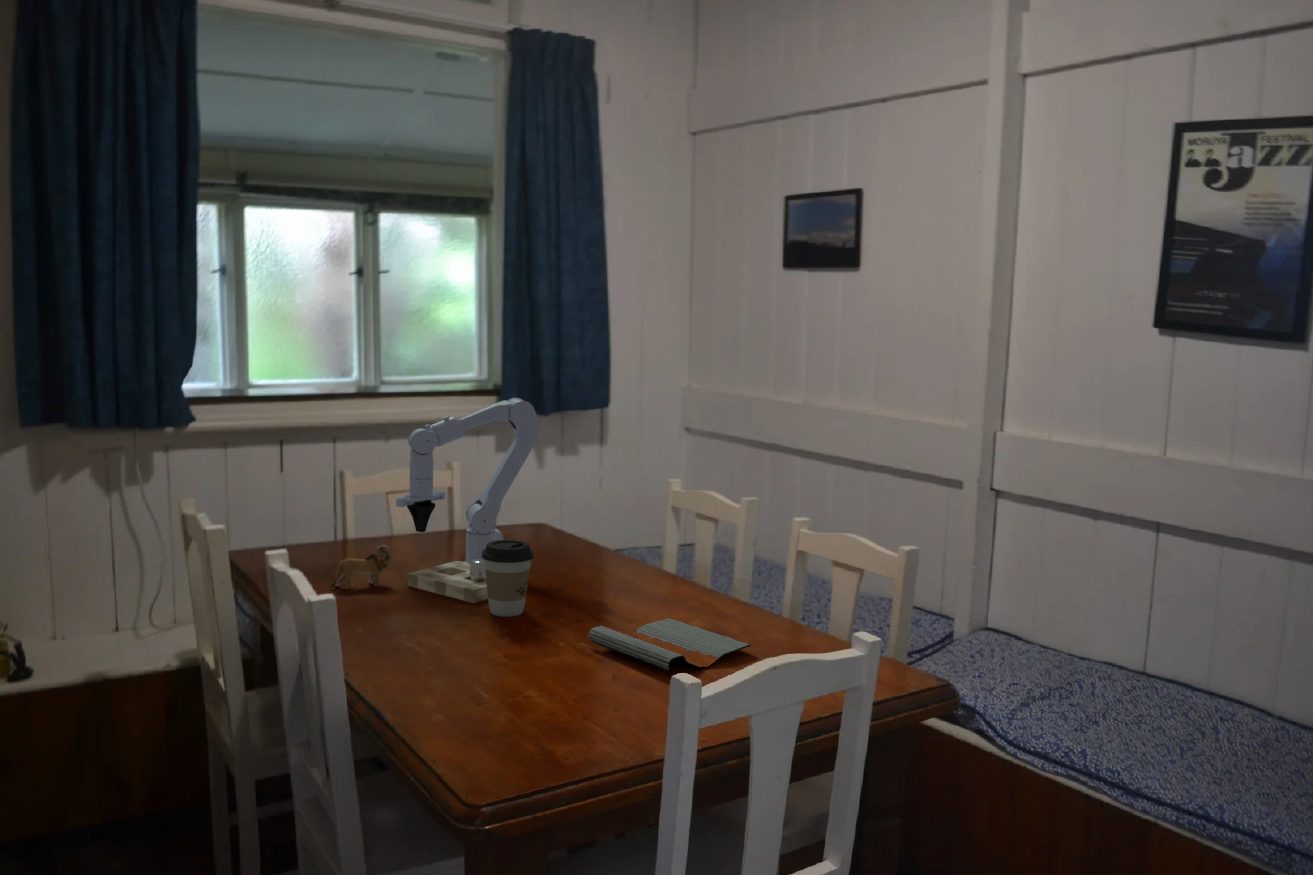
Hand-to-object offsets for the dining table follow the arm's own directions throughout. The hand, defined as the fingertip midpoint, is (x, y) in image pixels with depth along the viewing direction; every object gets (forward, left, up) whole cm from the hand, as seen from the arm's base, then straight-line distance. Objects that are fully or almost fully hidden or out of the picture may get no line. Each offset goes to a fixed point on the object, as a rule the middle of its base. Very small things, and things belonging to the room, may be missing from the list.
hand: (420, 531), depth 250 cm
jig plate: (+5, +20, -9) cm, 23 cm away
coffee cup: (+13, +40, -10) cm, 43 cm away
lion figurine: (+19, +1, -10) cm, 22 cm away
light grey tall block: (+5, +24, -9) cm, 27 cm away
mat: (+11, +81, -10) cm, 82 cm away
